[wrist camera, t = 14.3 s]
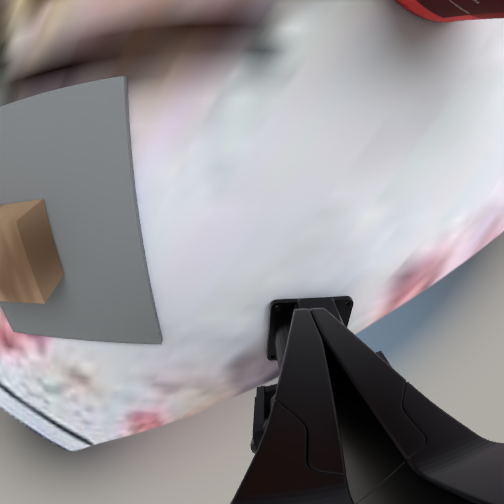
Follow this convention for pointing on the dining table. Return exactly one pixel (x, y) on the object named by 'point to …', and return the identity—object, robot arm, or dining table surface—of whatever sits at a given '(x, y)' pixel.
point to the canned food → (455, 9)
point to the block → (27, 253)
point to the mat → (81, 211)
